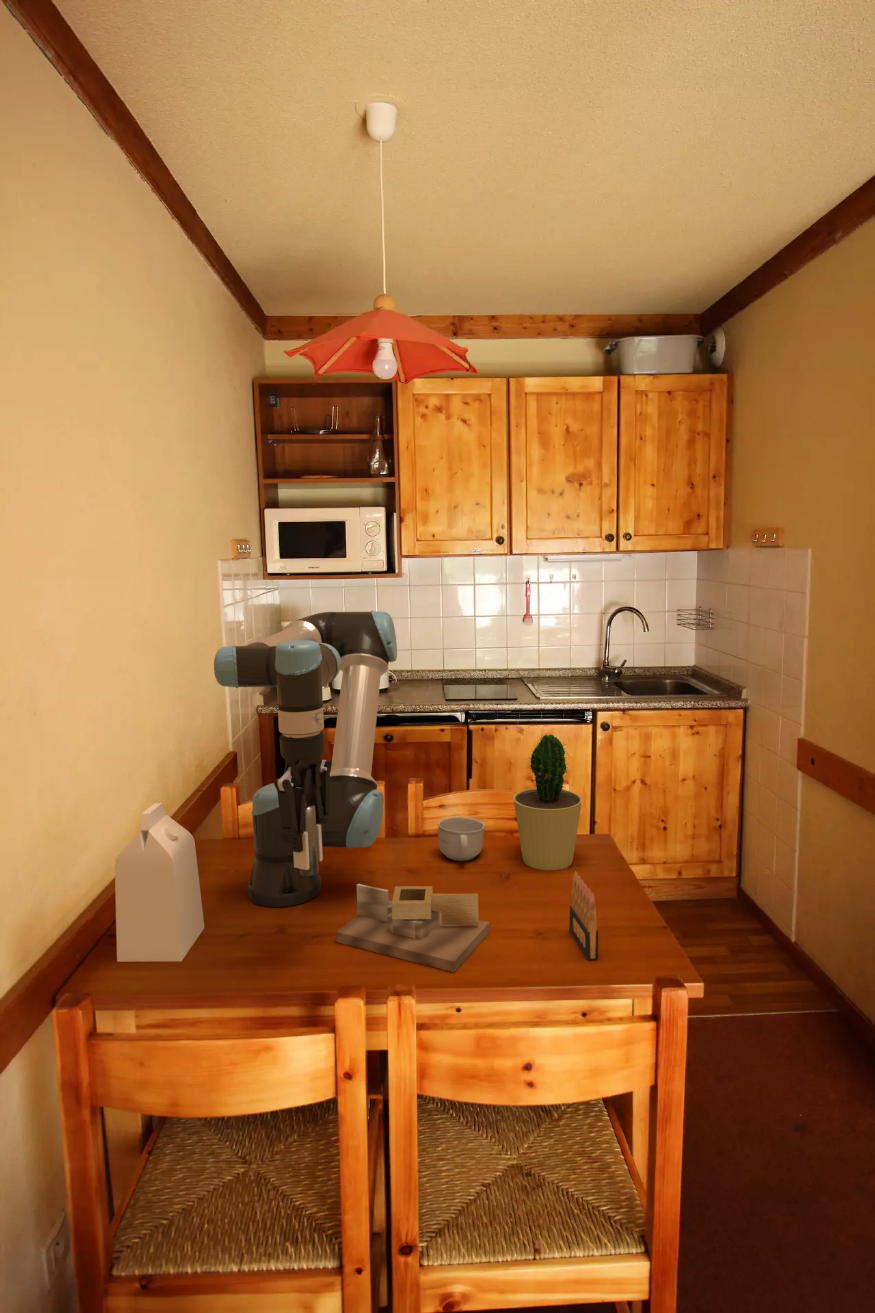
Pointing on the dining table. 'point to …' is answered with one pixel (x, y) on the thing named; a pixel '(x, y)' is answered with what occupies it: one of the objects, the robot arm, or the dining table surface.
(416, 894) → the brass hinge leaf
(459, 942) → the hinge base
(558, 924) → the dining table surface
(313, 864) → the hinge pin
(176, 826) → the milk
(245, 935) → the dining table surface
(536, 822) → the potted cactus
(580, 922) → the ammunition clip
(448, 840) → the teacup
